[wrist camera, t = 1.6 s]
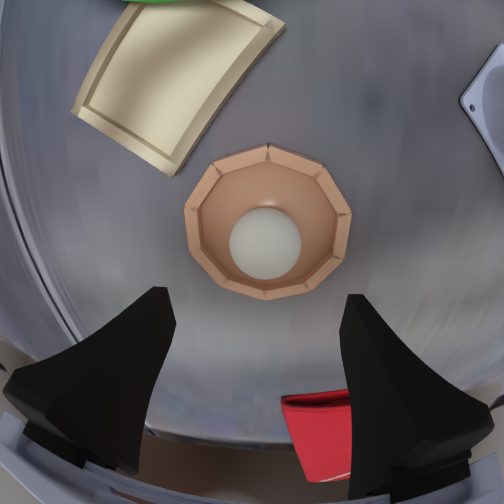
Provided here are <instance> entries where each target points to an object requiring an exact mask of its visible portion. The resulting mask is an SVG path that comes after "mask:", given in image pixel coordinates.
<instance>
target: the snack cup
mask: <svg viewBox="0 0 504 504" xmlns="http://www.w3.org/2000/svg"><path fill="white" fill-rule="evenodd" d="M123 1H131V2H146V3H147V2H151V3H159V2H174V1H181V0H123Z"/></svg>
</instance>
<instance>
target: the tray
mask: <svg viewBox="0 0 504 504" xmlns="http://www.w3.org/2000/svg"><path fill="white" fill-rule="evenodd" d="M285 24H286V23H284V22H282V21H281V20H279V19H277V18H276V17H274V16H272V15H270V14H269V13H267V12H265V11H263V10H261V9H259V8H257V7H255V6H254V5H252V4H250V3H248V2H246V1H243V0H181V1H174V2H159V3H151V2H147V3H146V2H130V3H129V5H128V6H127V8H126V9H125V10H124V12H123V13H122V15H121V16H120V18H119V19H118V21H117V22H116V24H115V25H114V27H113V29H112V30H111V32H110V33H109V35H108V37H107V38H106V40H105V42H104V43H103V45H102V47H101V49H100V50H99V52H98V54H97V56H96V58H95V60H94V62H93V64H92V65H91V67H90V69H89V71H88V73H87V75H86V78H85V80H84V82H83V84H82V86H81V88H80V91H79V93H78V95H77V97H76V100H75V102H74V105H73V107H72V110H71V112H72V113H73V114H75V115H76V116H78V117H79V118H81V119H83V120H84V121H86V122H87V123H89V124H90V125H92V126H94V127H95V128H97V129H98V130H100V131H101V132H103V133H104V134H106V135H107V136H109V137H111V138H112V139H114V140H115V141H117V142H118V143H120V144H121V145H123V146H124V147H126V148H127V149H129V150H131V151H132V152H134V153H135V154H137V155H138V156H140V157H141V158H143V159H144V160H146V161H147V162H149V163H150V164H152V165H153V166H155V167H156V168H158V169H159V170H161V171H162V172H164V173H165V174H167V175H168V176H170V177H171V178H173V177H174V176H176V175H177V174H178V173H179V172H180V170H181V169H182V167H183V166H184V164H185V162H186V161H187V159H188V158H189V156H190V154H191V153H192V151H193V150H194V148H195V147H196V145H197V143H198V142H199V140H200V139H201V137H202V136H203V134H204V133H205V131H206V130H207V128H208V127H209V125H210V124H211V122H212V121H213V120H214V118H215V117H216V115H217V114H218V112H219V111H220V110H221V108H222V107H223V105H224V104H225V103H226V101H227V100H228V99H229V97H230V96H231V94H232V93H233V92H234V90H235V89H236V88H237V87H238V85H239V84H240V83H241V81H242V80H243V79H244V77H245V76H246V75H247V74H248V72H249V71H250V70H251V69H252V67H253V66H254V65H255V64H256V62H257V61H258V60H259V59H260V58H261V56H262V55H263V54H264V53H265V52H266V50H267V49H268V48H269V47H270V46H271V45H272V43H273V42H274V41H275V40H276V39H277V38H278V37H279V35H280V34H281V33H282V32H283V31H284V30H285Z"/></svg>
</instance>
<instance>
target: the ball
mask: <svg viewBox="0 0 504 504" xmlns="http://www.w3.org/2000/svg"><path fill="white" fill-rule="evenodd" d="M229 246H230V252H231V256H232V258H233V260H234V262H235V264H236V265H237V266H238V267H239V269H240V270H242V271H243V272H244V273H245V274H247V275H249V276H251V277H253V278H257V279H264V280H266V279H274V278H277V277H280V276H282V275H284V274H285V273H287V272H288V271H289V270H290V269H291V268H292V267H293V266H294V265H295V263H296V261H297V260H298V257H299V255H300V251H301V236H300V233H299V230H298V228H297V226H296V224H295V223H294V221H293V220H292V219H291V218H290V217H289V216H288V215H286V214H285V213H283V212H282V211H279V210H277V209H273V208H257V209H254V210H251V211H249V212H247V213H246V214H244V215H243V216H242V217H241V218H240V219H239V220H238V221H237V222H236V224H235V225H234V227H233V229H232V231H231V235H230V240H229Z"/></svg>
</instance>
